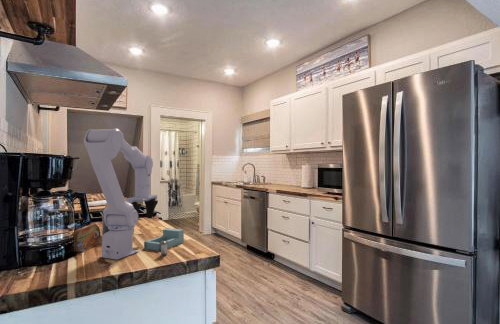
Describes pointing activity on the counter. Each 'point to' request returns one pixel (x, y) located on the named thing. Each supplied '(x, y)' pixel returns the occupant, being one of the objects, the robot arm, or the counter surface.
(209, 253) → the counter surface
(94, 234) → the tin
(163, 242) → the peg
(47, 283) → the counter surface
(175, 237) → the link
